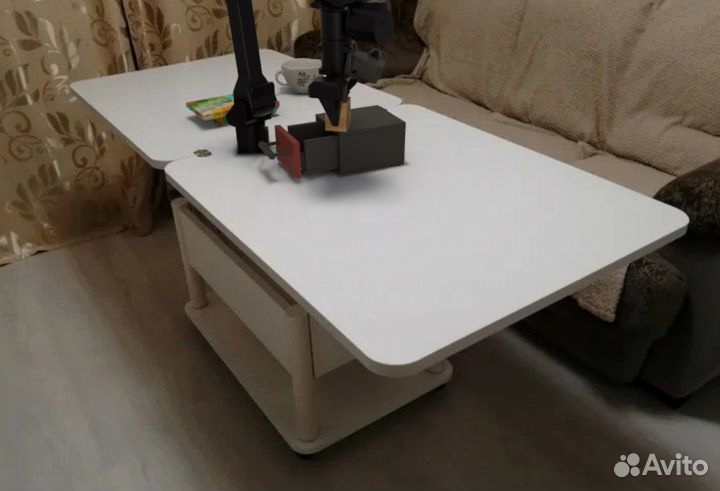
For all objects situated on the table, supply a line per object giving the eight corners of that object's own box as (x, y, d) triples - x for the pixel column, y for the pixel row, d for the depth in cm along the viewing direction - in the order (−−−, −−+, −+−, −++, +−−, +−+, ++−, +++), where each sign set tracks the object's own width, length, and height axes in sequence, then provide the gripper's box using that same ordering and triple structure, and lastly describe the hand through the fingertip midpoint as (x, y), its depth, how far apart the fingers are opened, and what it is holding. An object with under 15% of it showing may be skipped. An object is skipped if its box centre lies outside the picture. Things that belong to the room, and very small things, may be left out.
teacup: (314, 82, 178) (313, 55, 173) (334, 93, 168) (333, 64, 164) (268, 89, 171) (265, 61, 167) (285, 101, 162) (283, 71, 158)
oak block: (346, 132, 111) (346, 103, 108) (325, 130, 112) (324, 101, 109) (350, 125, 114) (350, 96, 112) (330, 123, 115) (330, 95, 112)
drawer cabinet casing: (340, 176, 118) (339, 132, 114) (316, 154, 128) (315, 113, 124) (404, 164, 124) (406, 122, 119) (377, 144, 134) (377, 104, 129)
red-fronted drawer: (274, 183, 114) (271, 147, 110) (256, 162, 122) (253, 128, 119) (358, 167, 120) (358, 133, 116) (336, 148, 129) (335, 116, 125)
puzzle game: (278, 97, 148) (201, 111, 139) (280, 116, 151) (204, 130, 141) (259, 86, 157) (185, 99, 147) (260, 104, 159) (188, 117, 150)
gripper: (372, 51, 95) (370, 143, 103) (390, 29, 111) (387, 110, 119) (305, 48, 97) (309, 138, 105) (332, 26, 113) (333, 106, 121)
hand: (337, 122), depth 112 cm, fingers closed on oak block, 4 cm apart
